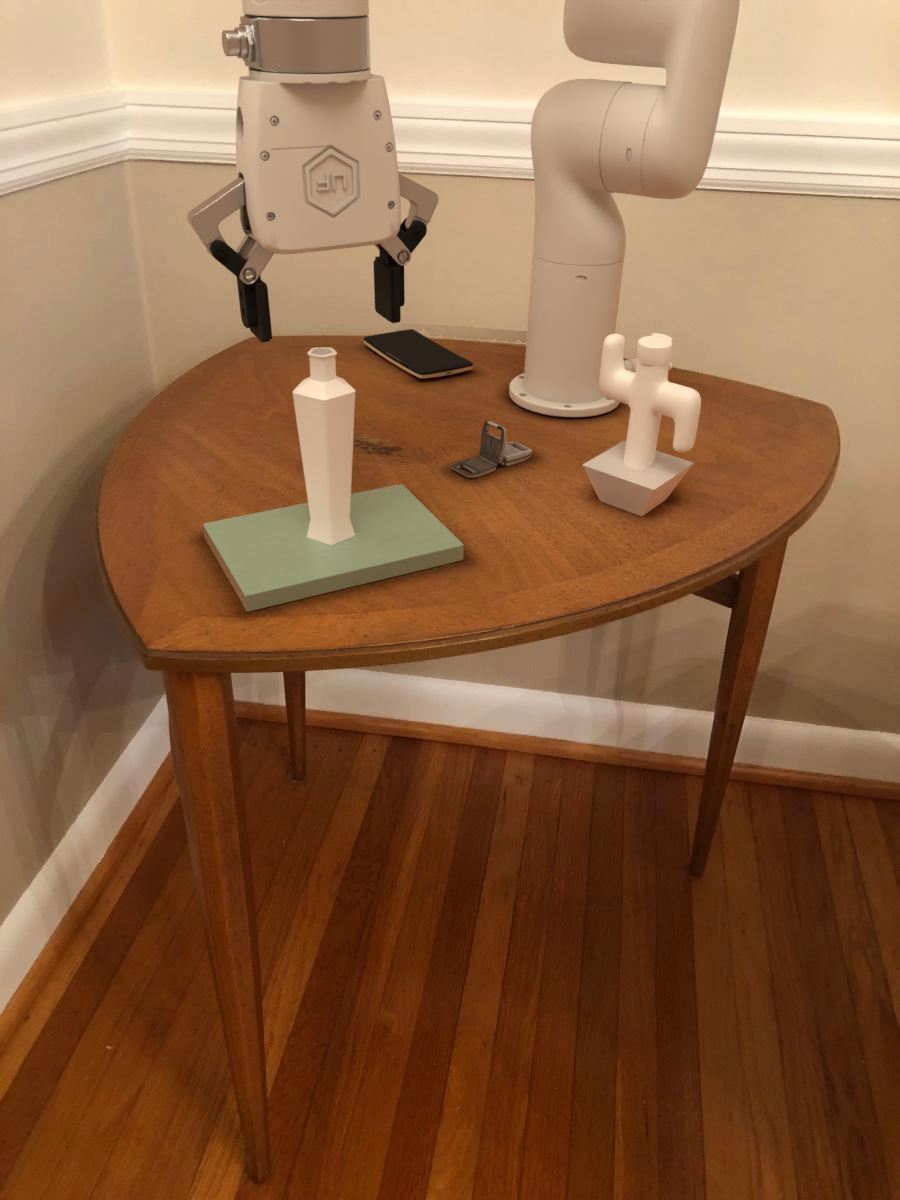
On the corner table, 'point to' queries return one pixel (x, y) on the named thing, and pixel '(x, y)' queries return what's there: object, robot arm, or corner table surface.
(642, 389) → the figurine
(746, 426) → the corner table surface
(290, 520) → the tile slab
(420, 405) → the corner table surface
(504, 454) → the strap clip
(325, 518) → the white faceted vase
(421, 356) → the smartphone
